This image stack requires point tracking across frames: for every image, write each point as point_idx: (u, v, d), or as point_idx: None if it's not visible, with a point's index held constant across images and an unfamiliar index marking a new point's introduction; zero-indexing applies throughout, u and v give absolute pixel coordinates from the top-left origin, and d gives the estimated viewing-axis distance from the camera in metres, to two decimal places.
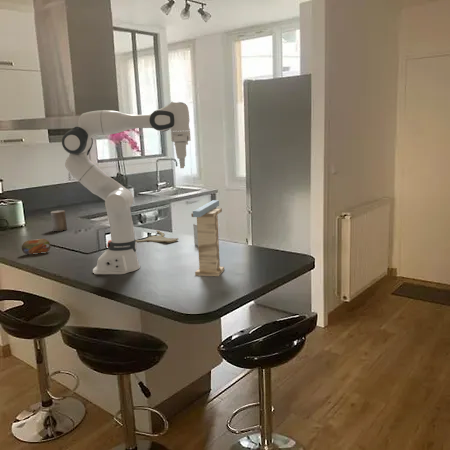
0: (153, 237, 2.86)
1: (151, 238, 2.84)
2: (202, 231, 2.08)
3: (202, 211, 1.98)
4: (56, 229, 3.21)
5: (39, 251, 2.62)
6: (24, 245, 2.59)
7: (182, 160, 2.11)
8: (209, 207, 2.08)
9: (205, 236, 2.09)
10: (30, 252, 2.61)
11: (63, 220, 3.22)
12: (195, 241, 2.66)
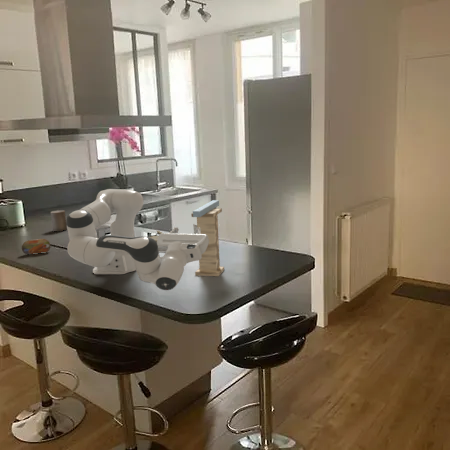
0: (153, 237, 2.86)
1: None
2: (202, 231, 2.08)
3: (202, 211, 1.98)
4: (56, 229, 3.21)
5: (39, 251, 2.62)
6: (24, 245, 2.59)
7: (200, 234, 1.80)
8: (209, 207, 2.08)
9: None
10: (30, 252, 2.61)
11: (63, 220, 3.22)
12: None
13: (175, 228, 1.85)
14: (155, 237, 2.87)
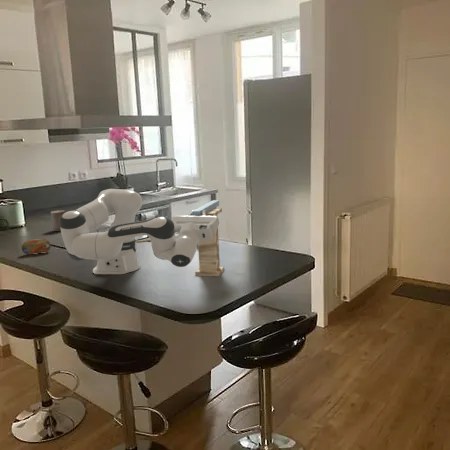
0: None
1: None
2: None
3: None
4: (56, 229, 3.21)
5: (39, 251, 2.62)
6: (24, 245, 2.59)
7: (205, 216, 1.94)
8: (209, 207, 2.08)
9: None
10: (30, 252, 2.61)
11: None
12: None
13: None
14: None
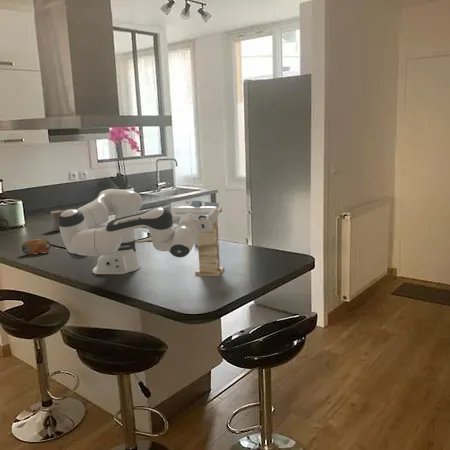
0: None
1: None
2: None
3: None
4: (56, 229, 3.21)
5: (39, 251, 2.62)
6: (24, 245, 2.59)
7: (205, 207, 1.93)
8: (209, 204, 2.07)
9: (205, 236, 2.09)
10: (30, 252, 2.61)
11: None
12: (195, 241, 2.66)
13: None
14: None
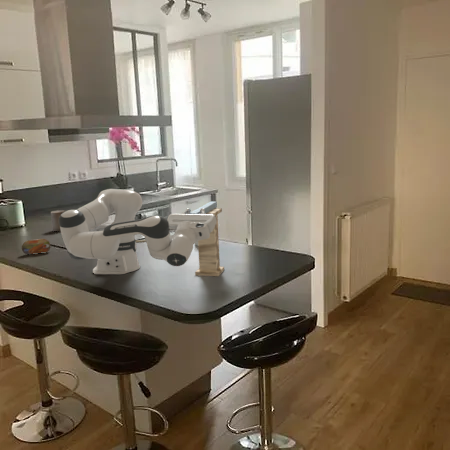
0: None
1: None
2: None
3: (199, 213, 1.94)
4: (56, 229, 3.21)
5: (39, 251, 2.62)
6: (24, 245, 2.59)
7: None
8: (206, 209, 2.04)
9: None
10: (30, 252, 2.61)
11: None
12: None
13: (187, 209, 1.94)
14: None
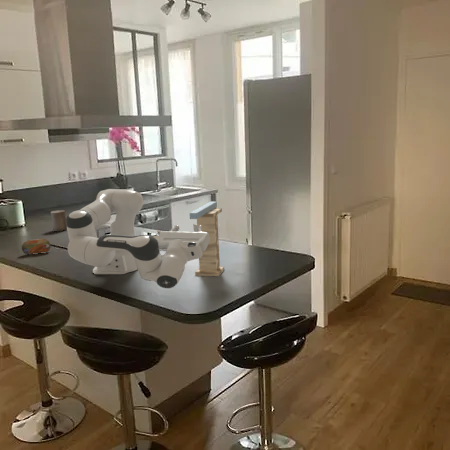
0: (154, 237, 2.86)
1: None
2: (202, 231, 2.08)
3: (199, 213, 1.94)
4: (56, 229, 3.21)
5: (39, 251, 2.62)
6: (24, 245, 2.59)
7: (201, 232, 1.80)
8: (206, 209, 2.04)
9: None
10: (30, 252, 2.61)
11: (63, 220, 3.22)
12: None
13: (176, 226, 1.85)
14: (156, 237, 2.86)
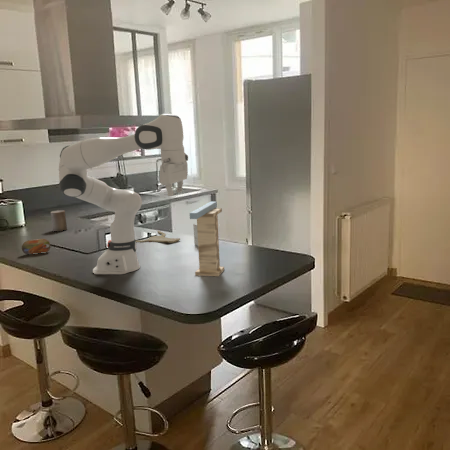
0: (154, 237, 2.86)
1: (153, 238, 2.84)
2: (202, 231, 2.08)
3: (199, 213, 1.94)
4: (56, 229, 3.21)
5: (39, 251, 2.62)
6: (24, 245, 2.59)
7: None
8: (206, 209, 2.04)
9: (205, 236, 2.09)
10: (30, 252, 2.61)
11: (63, 220, 3.22)
12: (195, 241, 2.66)
13: None
14: (156, 237, 2.86)
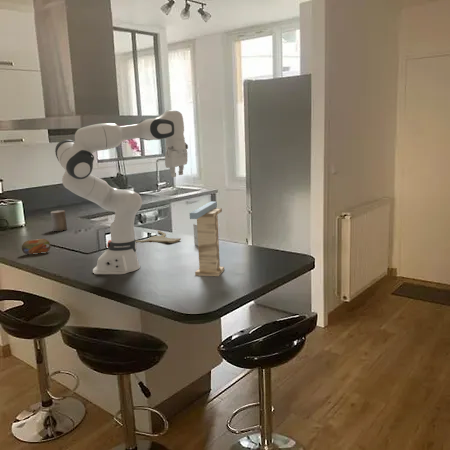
0: (155, 237, 2.86)
1: (153, 238, 2.84)
2: (202, 231, 2.08)
3: (199, 213, 1.94)
4: (56, 229, 3.21)
5: (39, 251, 2.62)
6: (24, 245, 2.59)
7: None
8: (206, 209, 2.04)
9: (205, 236, 2.09)
10: (30, 252, 2.61)
11: (63, 220, 3.22)
12: (195, 241, 2.66)
13: None
14: (156, 237, 2.86)
